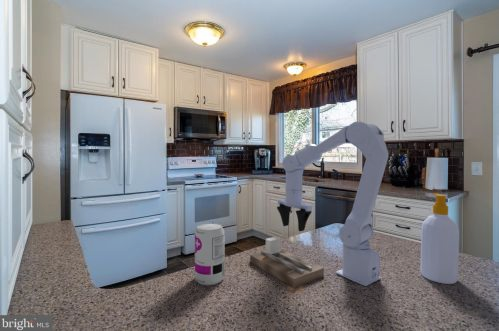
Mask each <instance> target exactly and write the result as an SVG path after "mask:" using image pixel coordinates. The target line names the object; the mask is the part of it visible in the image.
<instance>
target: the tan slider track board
mask: <svg viewBox="0 0 499 331" xmlns="http://www.w3.org/2000/svg"><path fill="white" fill-rule="evenodd" d="M278 253H279V255H278V256H274V255H272V254H271V255H270V254H268V253H266V250H264V249H263V250H261V252H256V253H253V254H252V253H251V254H250V255H249V262H250V264H252V265H254V266H256V267H257V268H259V269H261V270H263V271H264V272H266V273H268V275H269V274H270V275H271V276H273V277H274V278H276V279H278V280H280V281H282V282H284V284H286V285H289V286H290V287H291V288H293V289H296V288H299V287H300V286H303V285H305V284H308V283H309V282H313V281H315V280H318V279H319V278H322V277H324V274H325V273H324V272H325V271H324V270H325V268H324V267H323V266H321V265H319V264H316V263H314V262H312V261H309V260H307V259H306V258H303V257H301V256H298V255H296V254H294V253H291V252H289V251H286V249H285V250H284V249H282V248H281V252H278Z"/></svg>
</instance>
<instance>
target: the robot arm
mask: <svg viewBox="0 0 499 331" xmlns="http://www.w3.org/2000/svg"><path fill="white" fill-rule="evenodd" d="M384 138H385V133H384V132H383V131H382V130H381V129H380V128H379V127H378V126H377V125H375V124H372V123H367V122H366V123H365V122H363V121H360V120H359V121H353V122H352V123H350V124H349V125H346V126H344V127H342V128H341V129H340V130H338V131H336V132H335V133H333V134H332V135H330V136H329V137H327V138H326V139H324V140H323V141H321V142H320V143H318V144H313V143H307V144H305V145H304V146H305V147H304V148H302V149H300V150H297V151H295V152H294V153H293V154H286V156H285V157H284V158H283V159H282V168H283V169H284V171H285V199H284V198H279V199H277V205H278V206H277V207H276V209H277V211H278V213H279V215H280V217H281V218H280V219H281V221H282V227H287V226H289V224H290V214H291V210H292V208H294V209H296V210H295V213H296V218H297V228H298V232H304V231H305V229H306V224H307V221H308V219H309V218H310V216H311V214H312V208H313V207H312V204H309V203H306V202H303V175H304V170H305V169H306V167H308V166H310V165H312V164H314V163H316V162H317V161H319V160H321V159H322V156H323V154H325V153H328V152H329V151H331V150H334V149H336V148H337V147H340V146H342V145H345V144H350V145H351V144H352V146H354V148H355V147H356V148H357V149H359V151H360V153H362V155H363V156H364V158H365V162H364V165H363V169H362V172H361V176H360V180H359V184H358V187H357V191H356V194H355V199H354V202H353V204H352V205H353V206H352V208H351V212H350V214H349V215H348V216H347V218H346V219H345V223H344V224H343V225H342V226H341V227H340V229H339V232H338V235H339V239H340V241H341V242H342V269H339V270H336V271H335V273H336V274H337V275H339V276H341V277H344V278H345V279H346V278H347V280H351V281H352V282H355V283H356V284H360V285H362V286H363V287H364V286H365V287H367V286H369V285H372V284H374V282H377V281H379V280H380V279H382V277H381V276H380V272H381V271H380V268H381V267H380V264H381V259H380V258H381V257H380V253H379V252H378V251H377V250H375V249H373V248H371V246H370V245H371V243H370V239H372V237H373V235H374V228H373V223H374V219H373V217H372V215H373V211H374V209H375V205H376V200H377V198H378V194H379V190H380V187H381V185H382V184H381V183H382V180H383V177H384V174H385V169H386V167H387V163H388V159H389V155H390V154H389V150H388V147H387V144H386V141H385V139H384ZM297 209H298V210H297Z"/></svg>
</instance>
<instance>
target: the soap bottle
mask: <svg viewBox="0 0 499 331" xmlns="http://www.w3.org/2000/svg"><path fill="white" fill-rule="evenodd" d="M432 196H435V197H436V198H435V199H436V201H435V202H434V203H433V206H432V214H431V215H428V216H427V218H426V219H424V221H423V222H422V224H421V240H420V242H421V243H420V269H419V272H420V274H421V276H422V277H424V279H427V280H429V281H432V282H436V283H439V284H446V285H447V284H448V285H452V284H457V282H458V277H459V276H458V274H459V273H458V272H459V252H460V251H459V250H460V246H459V245H460V230H459V226H458V225H457V223H456V222H455V221H454V220H453V219H452V217H449V206H448V205H447V202H446V195H444V194H440V193H438V192H437V193H435V192H434V193H433V192H432Z"/></svg>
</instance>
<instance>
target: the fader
mask: <svg viewBox="0 0 499 331" xmlns="http://www.w3.org/2000/svg"><path fill="white" fill-rule="evenodd" d="M281 249H282V238H280V237H279V236H272V237H267V238H265V251H266V253H268V254H270V255H271V254H272V255H274V256H278V255H279V253H278V252H281Z"/></svg>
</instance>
